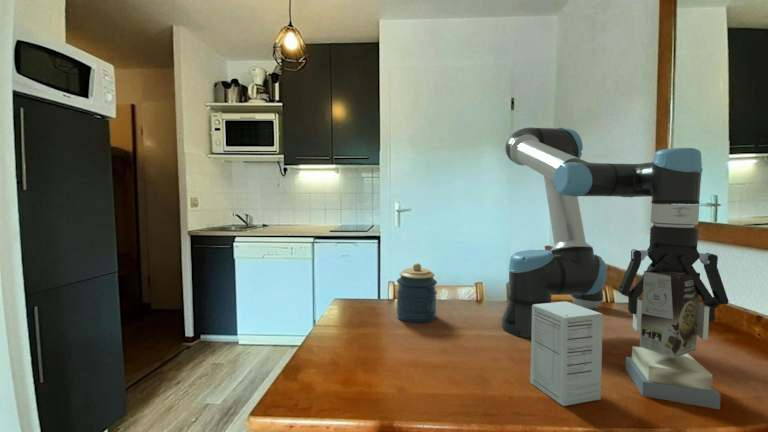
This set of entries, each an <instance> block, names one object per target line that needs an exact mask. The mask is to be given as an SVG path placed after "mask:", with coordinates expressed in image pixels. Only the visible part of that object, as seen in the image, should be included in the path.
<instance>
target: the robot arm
mask: <svg viewBox="0 0 768 432" xmlns="http://www.w3.org/2000/svg"><path fill="white" fill-rule="evenodd" d="M583 145H584V144H583V141H582V138H581V136H580V134H579V133H578V132H577V131H576V130H575V129H571V128H564V127H556V128H552V127H523V128H520V129H518V130H516V131H515V132H513V133H512V134H511V135H510V136H509V137H508V139H507V140H506V143H505V147H504V148H505V154H506V156H507V158H508V159H509V160H510V161H511V162H513V163H515V164H516V165H518V166H526V167H528V168H530V169H532V170H533V171H535V172H537V173H539V174H540V175H542V176H543V179H544V185H545V192H546V193H545V194H546V200H547V206H548V212H549V218H550V224H551V225H550V226H551V232H552V239H553V244H554V246H552V248H551V249H550V250H548V249H547V250H546V249H528V250H527V249H526V250H522V251H521V250H519V251H516V252H514V253H513V254H511V255H510V258H509V267H508V302H507V305H506V307H505V310H504V313H503V315H502V318H501V327H502V329H503V331H505V332H507V333H509V334H511V335H514V336H518V337H520V338H521V337H523V338H527V339H531V335H532V305H533V304H543V303H552V296H557V295H559V296H561V295H564V296H568V295H569V296H571V295H585V294H594V293H597V292H598V291H600V290H601V289H603V288H604V287H603V286H604V285H605V283H606V281H607V275H608V271H607V265H606V262H605V261H604V260H603V258H602V257H601V256H599V255H598V254H594V253H595V252H594V249H593V246H592V245H590V244H589V243H587V242H586V237H585V230H584V224H583V220H582V215H581V207H580V204H579V199H578V197H616V198H617V197H621V198H635V197H636V198H640V197H641V198H642V197H645V198H646V197H651V211H650V222H651V224H653V225H651V227H650V230H649V232H650V233H649V246H648V248H647V250H646V249H645V250H644V249H642V250H641V249H636V248H633V249H631V250H630V262H629V264H628V267H627V269H626V271H625V273H624V274H623V277H622V279H621V282H620V284H619V287H618V289H617V291H618V292H619V293H620V294H621V295H623V296H625V297H627V300H628V301H627V310H628V312H629V313H630V314H632V315H633V316H632V328H633V329H634V330H635V331H636V332H640V333H641V316H642V298H639V297H640V296H641V295H642V294H643V279H644V273H642V275H641V276H640V277H639V278H638V280H637V281H636V282H635V283H634V280H635V278H636V275H637V273H638V272H639V269H640V266H641V264H642V261H644V260H645V258H646V257H648V258H649V260H651V263H649V265H648V267H647V268H646V270H645V271H650V272H661V271H662V270H663V271H676V272H685V273H688V274H690V275H692V276H693V282H694V284H695V286H696V289H697V291H698V294H699V298H701V300H702V301H703V302H699V303H698V322H697V337H700V338H701V339H702V340H707V341H708V340H709V338H708V337H709V325H710V324H709V323H714V321H715V316H716V309H717V308H718V307H719V305H728V304H729V303H730V302H729V299H728V295H727V292H726V289H725V287H724V284H723V281H722V277H721V274H720V270H719V268H718V262H719V261H718V259H719V257H718V255H717V254H714V253H710V252H705V253H701V252H699V251H698V241H699V239H698V238H699V229H698V228H697V227H695V226H696V225H698V224H699V219H700V218H699V217H700V202H701V201H700V198H701V197H700V195H701V183H702V182H701V181H702V173H703V167H702V166H703V164H702V153H701V150H700V149H697V148H694V147H674V148H666V149H660V150H657V151H656V152H654V154H653V158H652V161H651V162H643V163H642V162H641V163H608V162H607V163H601V162H599V163H598V162H597V163H596V162H588V161H586V160H584V159H581V157H582V155H583V152H582V151H583V149H584V148H583V147H584V146H583ZM698 260H699V261H700V263H701V264H703V269H704V272H705V274H706V275H705V276H706V278H707V280H708V284H709V286H710V289H711V292H710V291H709V290H708V288H707V287H706V285H705V284H704V282H703V281H702V279H701V277H700V278H699V276H698V275H697V273H698V272H697V271H696V269H695V268H694V266H693V265H694V264H695V263H696V262H697V261H698ZM633 283H634V285H633ZM632 285H633V286H632ZM711 293H712V294H711Z"/></svg>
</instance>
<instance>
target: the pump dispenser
mask: <svg viewBox="0 0 768 432" xmlns="http://www.w3.org/2000/svg"><path fill="white" fill-rule="evenodd" d="M570 297H571V298H572V302H573V304H575V305H578V306H581V307H584V308H587V309H590V310H593V309H597V308H599V307H600V306H601V304H602V302H603V300H604V291H603V288H602V289H601V290H600V291H598V292H597V293H594V294H585V295H570Z"/></svg>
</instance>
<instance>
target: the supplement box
mask: <svg viewBox="0 0 768 432" xmlns="http://www.w3.org/2000/svg"><path fill="white" fill-rule="evenodd" d="M603 325H604V314H603V313H601V312H599V311H596V310H593V309H587V308H584V307H581V306H578V305H576V304H575V303H573V302H572V303H571V302H569V301H556V302H551V303H543V304H533V305H532V335H531V338H530V340H531V341H530V342H531V345H530V346H531V347H530V376H529V377H530V378H529V379H530V380H529V381H530V384H531V385H533V386H534V387H536V388H537V389H539V390H540V391H541V392H542V393H544V394H546V395H547V396H549V397H550V398H551V399H553V400H554V401H556V402H557V403H558V404H559V405H560V406H562V407H567V406H572V405H577V404H583V403H589V402H592V401H593V402H594V401H600V400H601V399H602V370H603V368H602V366H603V365H602V363H603V361H602V360H603V332H604V331H603Z"/></svg>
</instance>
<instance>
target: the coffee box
mask: <svg viewBox="0 0 768 432" xmlns="http://www.w3.org/2000/svg"><path fill="white" fill-rule="evenodd" d="M643 274H644V279H643V292H642V298H641V300H642V316H641V332H640V337H639V338H640V339H639V347H642V348H645V349H648V350H651V351H654V352H657V353H659V354H662V355H665V356H668V357H671V358H676V357H679V356H681V355H684V354H687V353H688V354H689V353H693V352H694V351H696V350H697V340H698V339H697V338H698V335H697V322H698V303H700V302H699V301H700V300H699V299H700V296H699V294H698V291H697V289H696V286H695V284H694V282H693V276H692V275H690V274H688V273H685V272H676V271H663V270H662V271H661V272H650V271H646V270H644V271H643ZM697 275H698V276H699V278H700V279H701V273H700V272H697Z"/></svg>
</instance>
